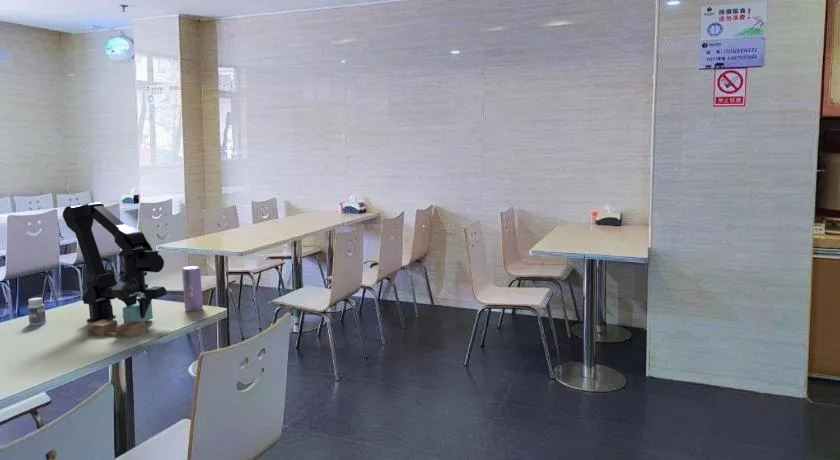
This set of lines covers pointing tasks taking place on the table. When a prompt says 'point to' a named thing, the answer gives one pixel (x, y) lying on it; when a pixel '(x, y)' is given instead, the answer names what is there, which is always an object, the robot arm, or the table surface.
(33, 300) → the pill bottle
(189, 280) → the beverage can
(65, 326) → the table surface
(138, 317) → the teal upright brick
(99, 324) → the slotted block
